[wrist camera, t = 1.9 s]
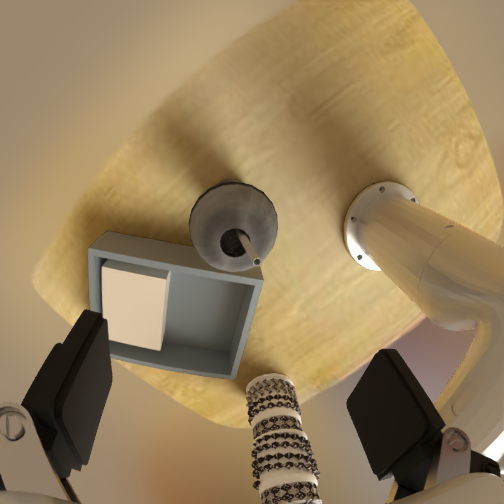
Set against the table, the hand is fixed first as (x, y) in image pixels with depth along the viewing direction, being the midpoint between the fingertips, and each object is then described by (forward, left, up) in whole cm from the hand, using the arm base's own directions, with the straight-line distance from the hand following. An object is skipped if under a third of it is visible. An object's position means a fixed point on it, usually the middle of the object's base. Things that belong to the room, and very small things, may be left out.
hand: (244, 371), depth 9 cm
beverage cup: (0, 0, -28) cm, 28 cm away
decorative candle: (-13, +31, -28) cm, 44 cm away
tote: (+5, +15, -27) cm, 32 cm away
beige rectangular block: (+9, +15, -26) cm, 32 cm away
